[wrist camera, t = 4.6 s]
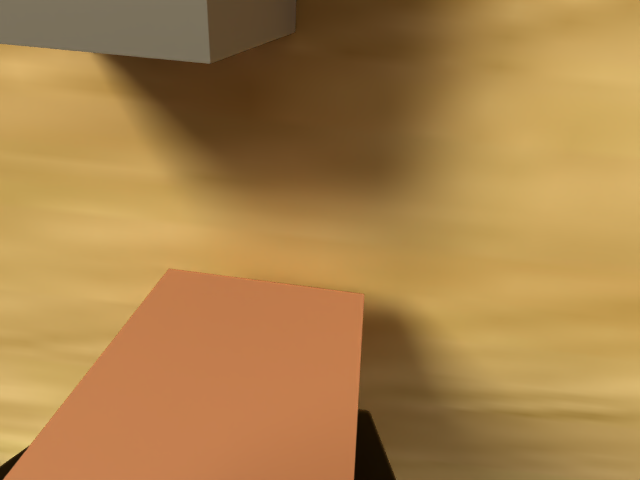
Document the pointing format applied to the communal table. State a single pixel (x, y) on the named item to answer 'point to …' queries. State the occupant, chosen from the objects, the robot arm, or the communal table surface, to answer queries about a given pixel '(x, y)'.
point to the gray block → (148, 26)
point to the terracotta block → (214, 389)
